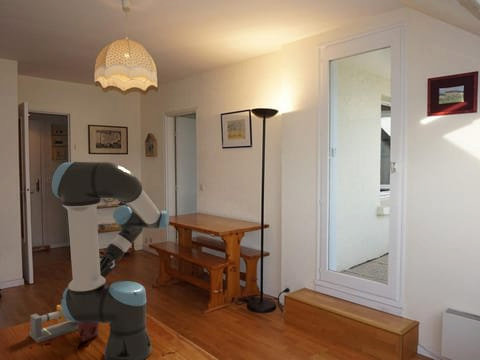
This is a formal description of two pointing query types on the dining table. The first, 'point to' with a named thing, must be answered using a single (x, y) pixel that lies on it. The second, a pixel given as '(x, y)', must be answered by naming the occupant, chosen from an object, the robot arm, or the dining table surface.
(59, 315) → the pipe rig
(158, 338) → the dining table surface
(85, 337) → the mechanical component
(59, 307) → the orange flat plate
